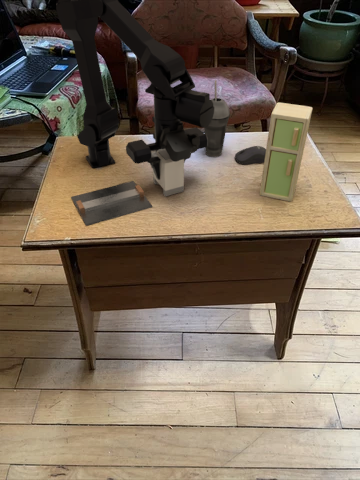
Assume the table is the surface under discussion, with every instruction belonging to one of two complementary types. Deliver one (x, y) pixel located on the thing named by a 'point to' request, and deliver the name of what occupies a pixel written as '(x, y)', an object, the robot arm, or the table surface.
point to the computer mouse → (251, 155)
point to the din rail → (110, 202)
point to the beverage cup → (217, 126)
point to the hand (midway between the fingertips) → (168, 176)
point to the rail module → (170, 174)
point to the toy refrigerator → (284, 150)
